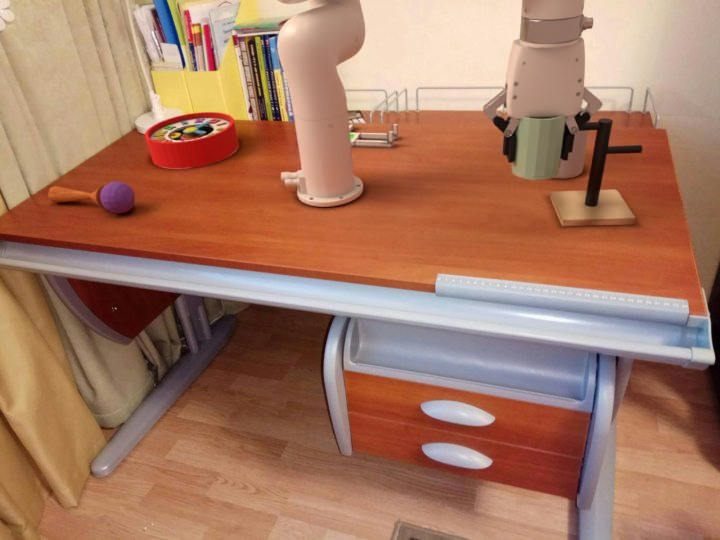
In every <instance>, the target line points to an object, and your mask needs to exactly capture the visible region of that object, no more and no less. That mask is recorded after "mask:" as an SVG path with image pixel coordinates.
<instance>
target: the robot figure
mask: <svg viewBox="0 0 720 540" xmlns="http://www.w3.org/2000/svg"><path fill="white" fill-rule="evenodd" d="M349 130H350V140H351V147H353V148H354V147H356V148H357V147H358V148H387V149H388V148H389V149H393V148H394V146H395V144H394V143H395V142H394V141H398V139H399V127H398V123H394V124H393V123H392V124H391V131H389V130H388V131H387V132H385V133H384V132H353V131H354V130H355V125H354V123H349Z"/></svg>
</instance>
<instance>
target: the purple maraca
mask: <svg viewBox="0 0 720 540" xmlns="http://www.w3.org/2000/svg"><path fill="white" fill-rule="evenodd" d="M47 197H48V199H49V200H50V201H51V202H52V203H53V204H57V203H67V202H76V201H87V200H92V201H93V202H94V203H96V204H97V205H98V206H99V207H101V208H103V209H106V210H107V211H108V212H110V213H112V214H125V213H127V212H129V211H130V210H131V209H132V208H133V207H134V205H135V202H136V194H135V192H134V189H133V188H132V187H131V186H130V185H128V184H127V183H125V182H122V181H111V182H109V183H107V184H105V185H102V186H100V187H98V188H97V189H95V190H94V191H93V192H87V191H82V190H77V189H72V188H68V187H63V186H58V185H54V186H51V187H49V189H48V192H47Z"/></svg>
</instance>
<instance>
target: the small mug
mask: <svg viewBox="0 0 720 540" xmlns="http://www.w3.org/2000/svg"><path fill="white" fill-rule="evenodd" d="M565 127H566V116H565V115H561V116H558V117H555V118H538V119H536V118H529V117H522V118H521V119H519V124H518V126H517V127H516V129H515V131H514V134H515V137H516V144H515V156H514V162H513V163H510V168H511V169H510V170H511V171H510V172H511V173H512V174H513V175H514V176H516V177H518V178H521V179H524V180H530V181H543V180H544V181H545V180H550V179H554V178H553V177H555V176H556V175H557V174H558V173H559V169H560V164H561V157H562V149H563V142H564V135H565Z"/></svg>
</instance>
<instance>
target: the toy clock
mask: <svg viewBox="0 0 720 540" xmlns="http://www.w3.org/2000/svg"><path fill="white" fill-rule="evenodd" d="M237 133H238V132H237V128H236V125H235V119H234V117H233V116H231V115H230V114H227V113H225V112H224V113H223V112H218V111H216V112H215V111H202V112H193V113H192V112H191V113H185V114H182V115H177V116H173V117H170V118H167V119H165V120H161V121H159V122H157V123H155V124H153V125H151V126H150V127H149V128H147V129H146V131H145V133H144V137H145V140H146V144H147V147H148V151H149V154H150V157H151V160H152V162H153V164H154V165H156V166H158V167H159V168H162V169H170V170H184V169H193V168H200V167H204V166H208V165H211V164H216V163H217V162H220V161H223V160H225V159H227V158H228V157H230V156H232V155H233V154H234V153H236V152H237V151H238V149H239V147H240V141H239V138H238V134H237Z"/></svg>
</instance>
